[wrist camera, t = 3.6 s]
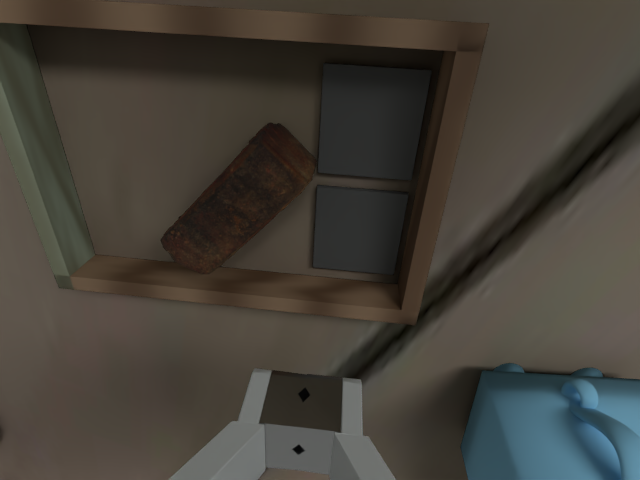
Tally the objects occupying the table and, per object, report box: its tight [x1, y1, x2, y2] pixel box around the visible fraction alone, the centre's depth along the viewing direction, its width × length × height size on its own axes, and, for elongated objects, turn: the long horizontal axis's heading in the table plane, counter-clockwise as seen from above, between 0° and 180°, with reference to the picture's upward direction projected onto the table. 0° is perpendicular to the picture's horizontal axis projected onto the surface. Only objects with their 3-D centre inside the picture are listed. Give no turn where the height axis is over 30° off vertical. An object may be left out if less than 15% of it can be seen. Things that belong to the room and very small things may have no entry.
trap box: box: [0, 0, 489, 325], centre depth 23 cm, size 26×18×3 cm
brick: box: [161, 123, 317, 275], centre depth 24 cm, size 11×4×5 cm, turn 135°
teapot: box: [461, 363, 640, 480], centre depth 27 cm, size 18×16×13 cm
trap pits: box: [313, 63, 432, 275], centre depth 24 cm, size 6×14×1 cm, turn 177°
